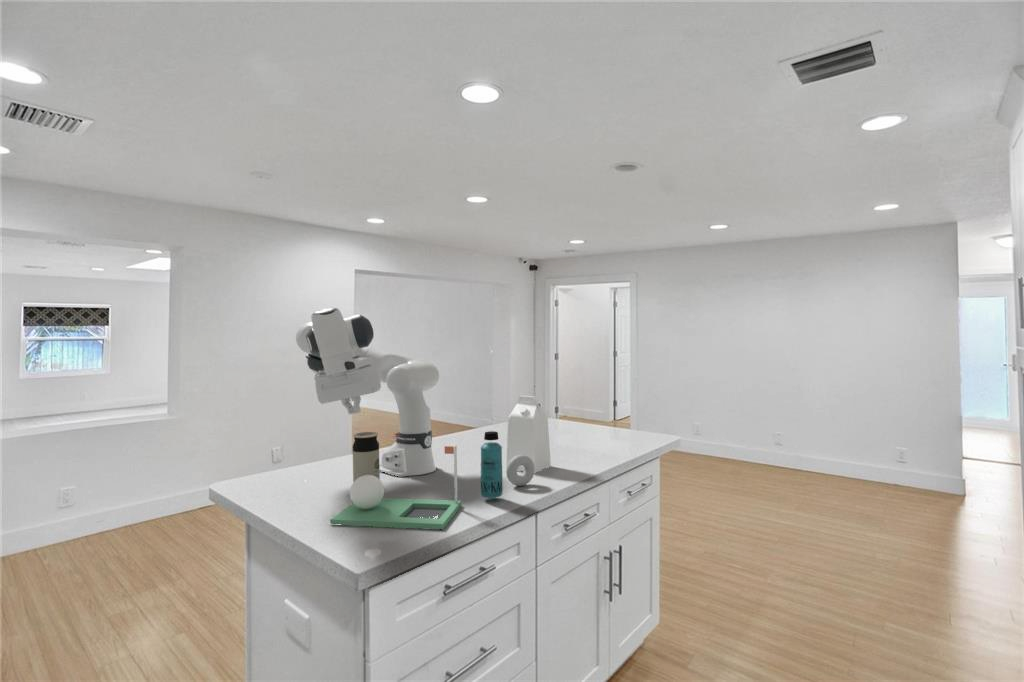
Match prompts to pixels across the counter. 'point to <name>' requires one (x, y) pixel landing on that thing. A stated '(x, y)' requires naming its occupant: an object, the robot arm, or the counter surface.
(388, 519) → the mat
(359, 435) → the travel mug
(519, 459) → the donut
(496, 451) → the beverage bottle
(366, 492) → the ball
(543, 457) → the milk
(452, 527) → the counter surface
